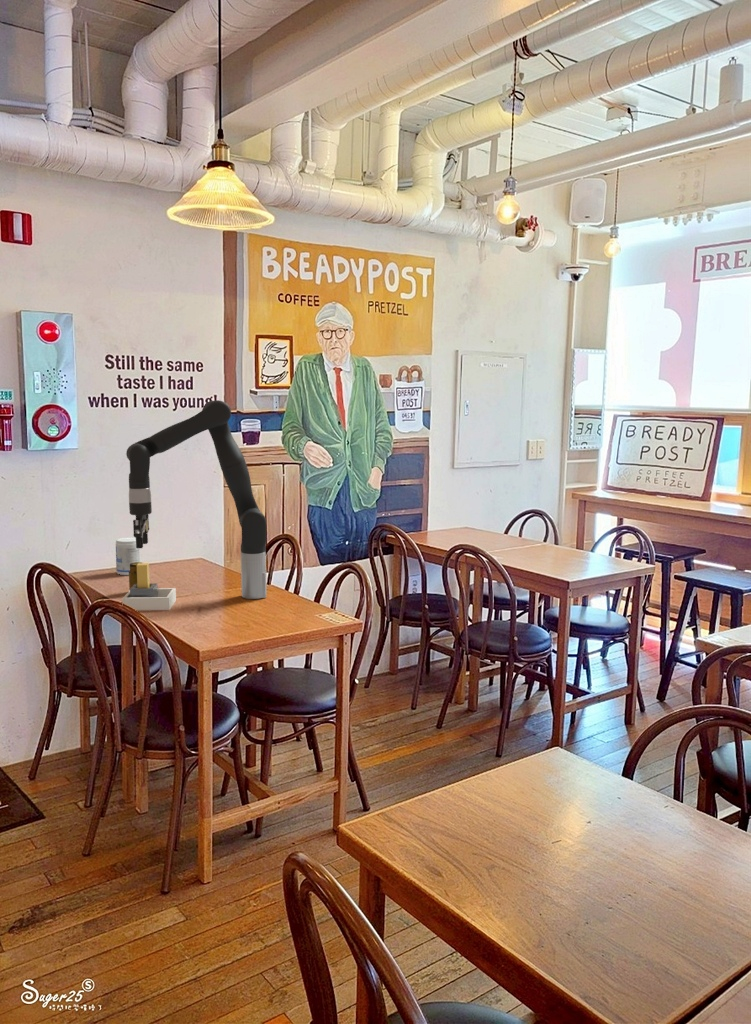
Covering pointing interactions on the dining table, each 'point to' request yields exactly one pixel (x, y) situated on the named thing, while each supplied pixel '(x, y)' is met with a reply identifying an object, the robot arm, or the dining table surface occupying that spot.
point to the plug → (143, 575)
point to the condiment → (133, 574)
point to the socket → (144, 591)
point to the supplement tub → (126, 555)
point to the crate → (152, 600)
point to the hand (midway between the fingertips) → (142, 545)
